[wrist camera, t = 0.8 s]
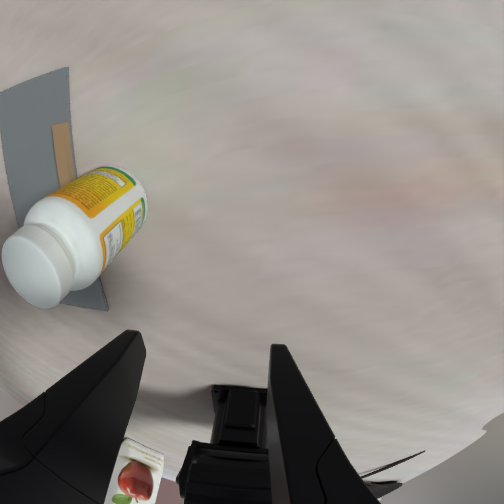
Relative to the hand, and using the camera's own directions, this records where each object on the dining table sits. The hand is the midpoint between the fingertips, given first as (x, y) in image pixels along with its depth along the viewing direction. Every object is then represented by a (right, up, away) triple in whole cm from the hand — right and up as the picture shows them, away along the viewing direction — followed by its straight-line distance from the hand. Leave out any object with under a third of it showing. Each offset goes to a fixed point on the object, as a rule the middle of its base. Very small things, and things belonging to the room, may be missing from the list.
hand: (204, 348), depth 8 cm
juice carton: (-18, -31, +33) cm, 48 cm away
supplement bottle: (-8, +6, +11) cm, 15 cm away
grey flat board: (-15, +7, +11) cm, 20 cm away
